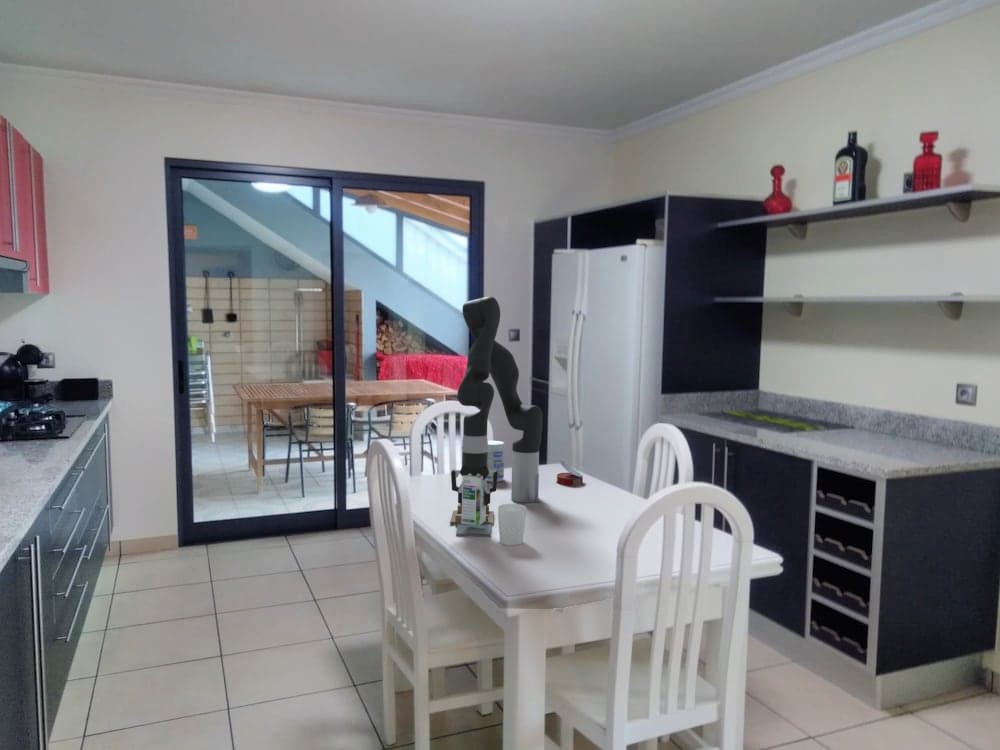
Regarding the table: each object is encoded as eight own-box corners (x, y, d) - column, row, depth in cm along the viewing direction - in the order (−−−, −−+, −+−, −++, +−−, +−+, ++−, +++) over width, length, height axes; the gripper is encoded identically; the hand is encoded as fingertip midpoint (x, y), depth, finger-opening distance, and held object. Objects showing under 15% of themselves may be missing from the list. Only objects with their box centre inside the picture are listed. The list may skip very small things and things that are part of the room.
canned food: (565, 491, 284) (572, 467, 287) (585, 493, 276) (591, 469, 279) (547, 481, 277) (554, 457, 280) (566, 484, 269) (573, 458, 272)
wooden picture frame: (493, 514, 234) (493, 505, 233) (492, 525, 221) (493, 516, 221) (453, 513, 234) (453, 504, 233) (450, 524, 221) (450, 515, 221)
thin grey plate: (491, 526, 220) (491, 523, 220) (490, 536, 210) (490, 534, 210) (458, 525, 220) (458, 523, 220) (456, 536, 211) (456, 533, 210)
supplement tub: (497, 484, 274) (498, 445, 273) (474, 481, 278) (475, 443, 276) (507, 478, 283) (508, 441, 281) (485, 476, 287) (486, 439, 285)
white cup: (498, 537, 211) (498, 503, 210) (525, 537, 210) (526, 504, 209) (497, 545, 203) (497, 510, 202) (525, 546, 202) (526, 511, 202)
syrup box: (460, 523, 214) (461, 475, 212) (468, 518, 219) (469, 471, 218) (478, 526, 212) (479, 477, 210) (486, 521, 217) (487, 473, 216)
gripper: (499, 447, 217) (498, 502, 219) (451, 446, 217) (450, 501, 219) (499, 452, 210) (498, 509, 211) (449, 451, 210) (448, 508, 211)
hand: (474, 504), depth 215 cm, fingers closed on syrup box, 7 cm apart
